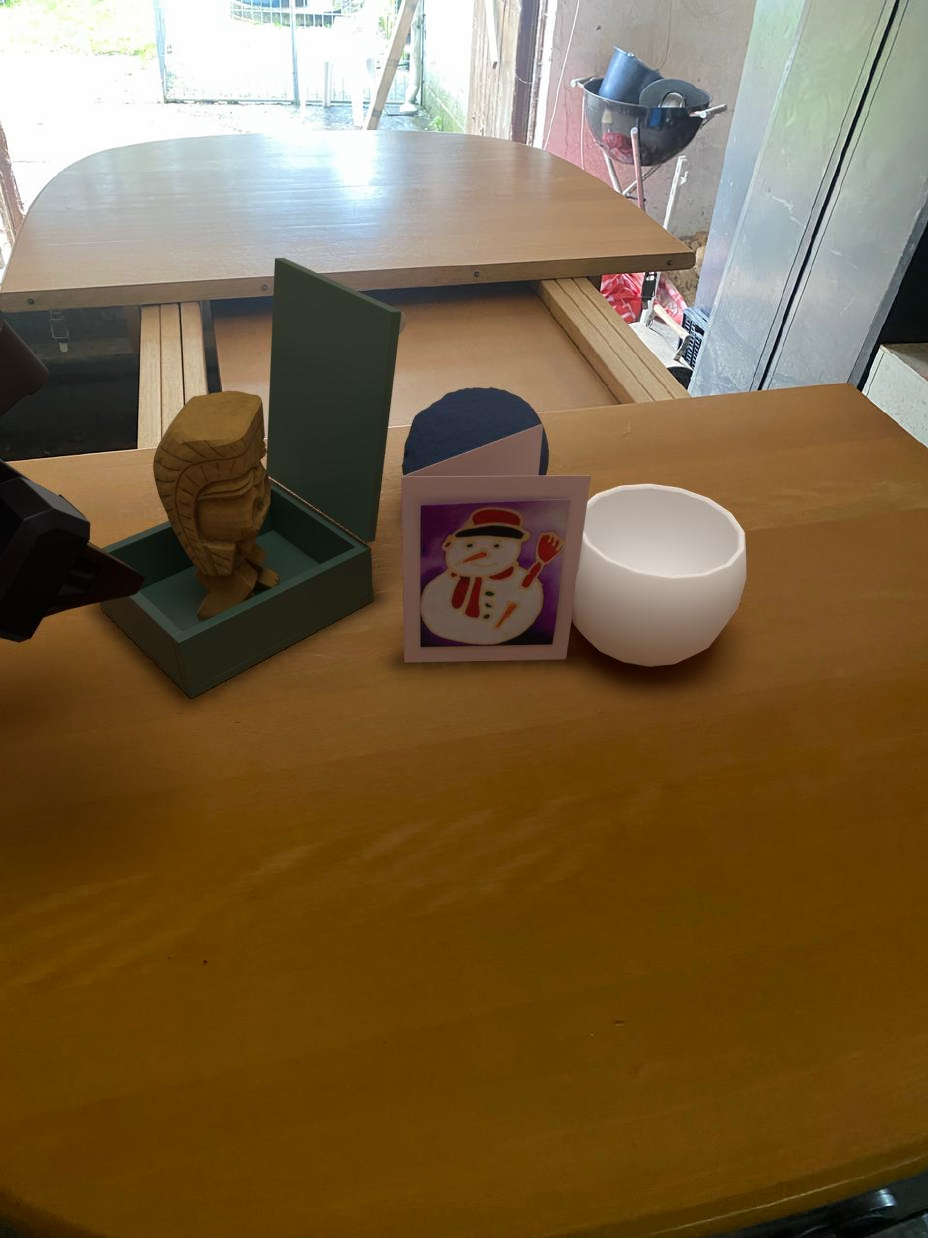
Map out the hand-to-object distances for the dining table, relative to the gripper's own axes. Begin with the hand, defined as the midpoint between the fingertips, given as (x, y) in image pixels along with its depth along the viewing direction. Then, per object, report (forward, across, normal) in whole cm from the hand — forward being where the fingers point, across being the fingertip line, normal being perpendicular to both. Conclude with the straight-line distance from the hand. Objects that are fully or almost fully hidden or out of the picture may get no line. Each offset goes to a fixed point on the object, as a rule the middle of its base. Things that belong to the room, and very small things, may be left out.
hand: (98, 546), depth 51 cm
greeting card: (+25, -9, -6) cm, 27 cm away
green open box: (+17, +6, +2) cm, 18 cm away
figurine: (+17, +6, +2) cm, 18 cm away
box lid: (+14, +6, -14) cm, 21 cm away
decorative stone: (+33, +3, -13) cm, 35 cm away
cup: (+31, -16, -12) cm, 37 cm away
